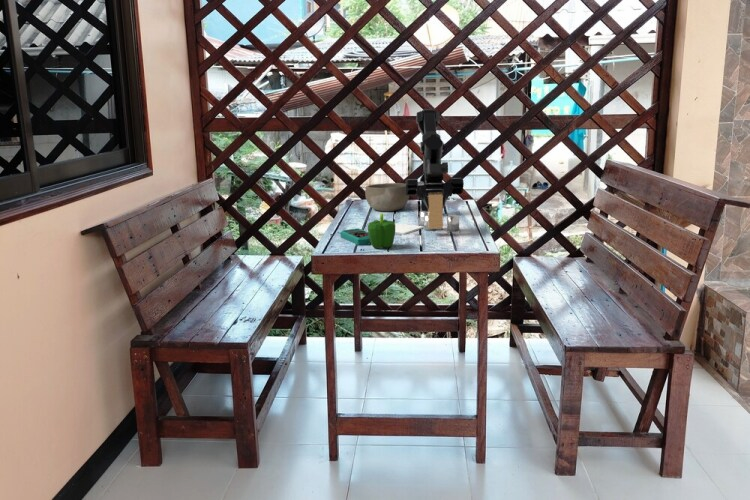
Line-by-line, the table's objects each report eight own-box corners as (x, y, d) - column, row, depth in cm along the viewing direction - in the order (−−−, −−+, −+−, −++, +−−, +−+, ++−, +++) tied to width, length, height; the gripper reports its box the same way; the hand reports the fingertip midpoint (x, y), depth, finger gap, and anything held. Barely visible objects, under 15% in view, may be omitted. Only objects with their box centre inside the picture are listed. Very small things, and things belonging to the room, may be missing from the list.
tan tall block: (428, 225, 213) (427, 192, 211) (441, 225, 213) (441, 192, 211) (429, 228, 209) (428, 194, 206) (442, 228, 209) (442, 194, 206)
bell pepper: (390, 251, 192) (389, 217, 190) (364, 249, 196) (363, 216, 193) (400, 244, 200) (399, 212, 198) (375, 243, 203) (374, 211, 201)
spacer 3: (451, 228, 221) (451, 214, 219) (461, 230, 218) (461, 215, 217) (445, 231, 218) (445, 216, 216) (455, 232, 215) (455, 217, 214)
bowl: (372, 205, 271) (371, 181, 269) (414, 206, 266) (413, 182, 264) (360, 213, 255) (359, 187, 253) (404, 214, 250) (404, 188, 248)
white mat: (390, 224, 232) (390, 222, 232) (423, 227, 224) (423, 226, 223) (370, 230, 222) (370, 228, 222) (404, 234, 214) (404, 232, 214)
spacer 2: (428, 228, 223) (428, 213, 222) (438, 229, 221) (438, 214, 220) (422, 230, 220) (421, 215, 219) (432, 231, 218) (432, 216, 216)
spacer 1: (423, 224, 230) (423, 210, 229) (433, 225, 227) (433, 211, 226) (417, 226, 227) (417, 211, 226) (427, 227, 224) (427, 212, 223)
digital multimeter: (358, 247, 200) (358, 238, 199) (339, 238, 213) (339, 229, 212) (380, 244, 203) (379, 235, 203) (360, 236, 216) (359, 227, 216)
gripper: (405, 154, 210) (406, 193, 202) (463, 153, 209) (466, 192, 201) (405, 175, 219) (406, 214, 211) (460, 174, 219) (464, 212, 211)
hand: (435, 207), depth 208 cm, fingers closed on tan tall block, 4 cm apart
